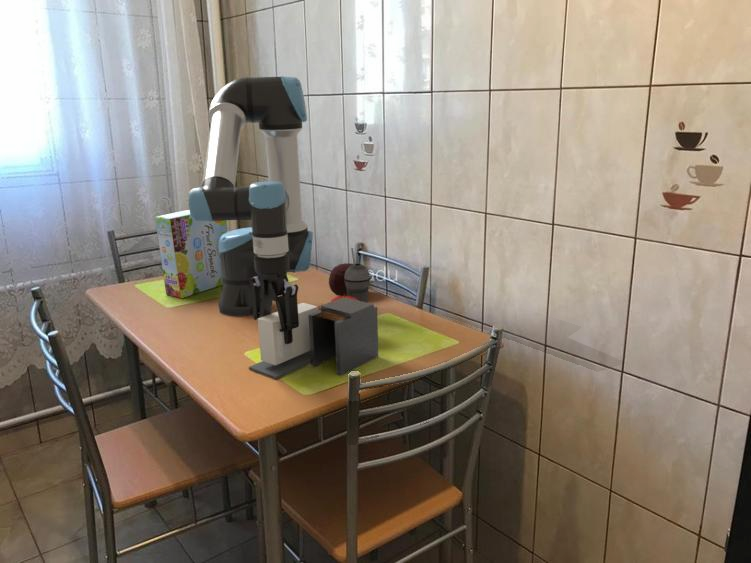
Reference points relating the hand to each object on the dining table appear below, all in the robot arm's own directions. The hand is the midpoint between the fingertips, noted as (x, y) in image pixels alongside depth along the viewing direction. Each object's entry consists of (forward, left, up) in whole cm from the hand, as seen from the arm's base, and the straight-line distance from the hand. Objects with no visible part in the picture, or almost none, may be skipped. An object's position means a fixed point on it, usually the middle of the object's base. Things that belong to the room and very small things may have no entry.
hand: (277, 353), depth 142 cm
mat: (0, +3, -3) cm, 5 cm away
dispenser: (+10, +12, -3) cm, 16 cm away
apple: (0, +23, -4) cm, 23 cm away
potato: (-23, +50, -4) cm, 55 cm away
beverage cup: (-7, +36, -4) cm, 37 cm away
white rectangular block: (0, +4, -1) cm, 4 cm away
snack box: (-68, +27, -4) cm, 73 cm away
